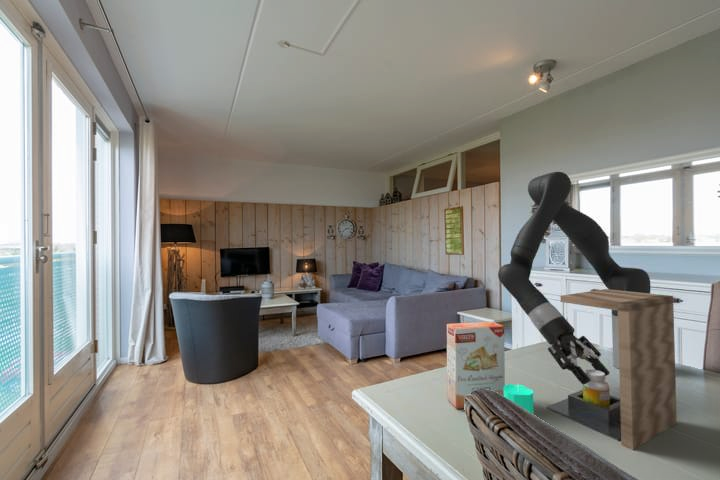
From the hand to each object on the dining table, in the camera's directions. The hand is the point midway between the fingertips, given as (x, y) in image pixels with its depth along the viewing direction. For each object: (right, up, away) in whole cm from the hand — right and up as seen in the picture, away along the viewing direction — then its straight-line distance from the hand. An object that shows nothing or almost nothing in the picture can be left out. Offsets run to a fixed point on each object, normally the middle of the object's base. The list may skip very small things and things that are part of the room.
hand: (597, 379), depth 81 cm
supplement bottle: (0, -8, 0) cm, 8 cm away
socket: (0, -9, 0) cm, 9 cm away
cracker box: (-27, -9, +7) cm, 30 cm away
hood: (+3, -8, -3) cm, 9 cm away
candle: (-23, -9, -9) cm, 27 cm away
